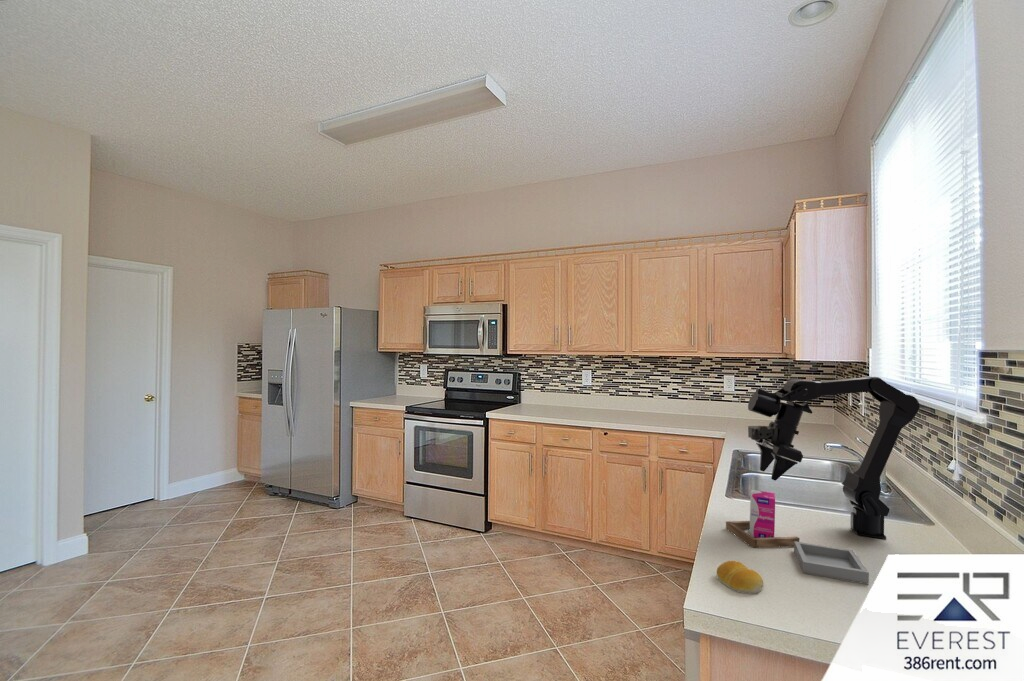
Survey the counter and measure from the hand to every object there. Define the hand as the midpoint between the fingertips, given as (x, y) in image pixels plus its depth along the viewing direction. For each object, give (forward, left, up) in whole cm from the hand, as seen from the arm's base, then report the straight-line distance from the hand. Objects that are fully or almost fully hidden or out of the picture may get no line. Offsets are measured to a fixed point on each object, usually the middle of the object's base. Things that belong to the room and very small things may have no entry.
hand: (767, 475), depth 133 cm
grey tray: (-10, +22, -14) cm, 28 cm away
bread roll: (+9, +39, -14) cm, 42 cm away
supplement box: (+2, +10, -14) cm, 17 cm away
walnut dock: (+2, +10, -14) cm, 17 cm away
